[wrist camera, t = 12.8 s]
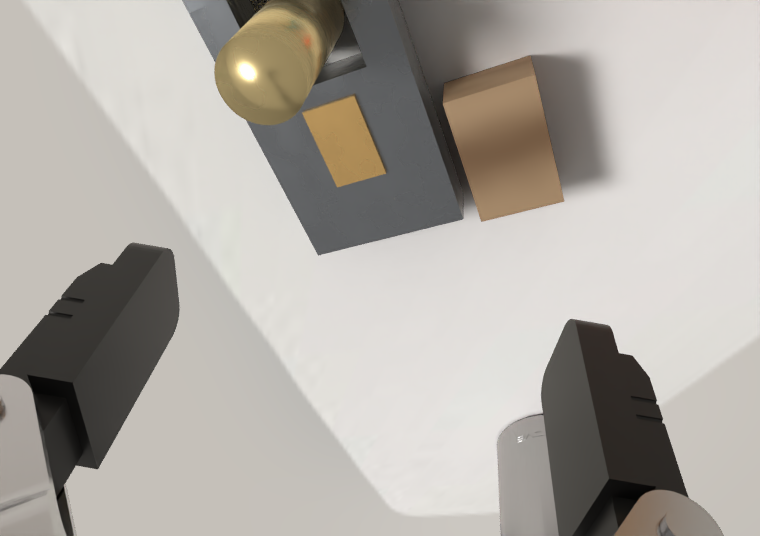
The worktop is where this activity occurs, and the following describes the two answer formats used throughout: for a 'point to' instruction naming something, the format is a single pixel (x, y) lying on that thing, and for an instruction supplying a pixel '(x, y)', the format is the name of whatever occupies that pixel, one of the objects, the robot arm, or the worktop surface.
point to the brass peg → (277, 58)
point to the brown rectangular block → (503, 139)
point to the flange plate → (355, 133)
